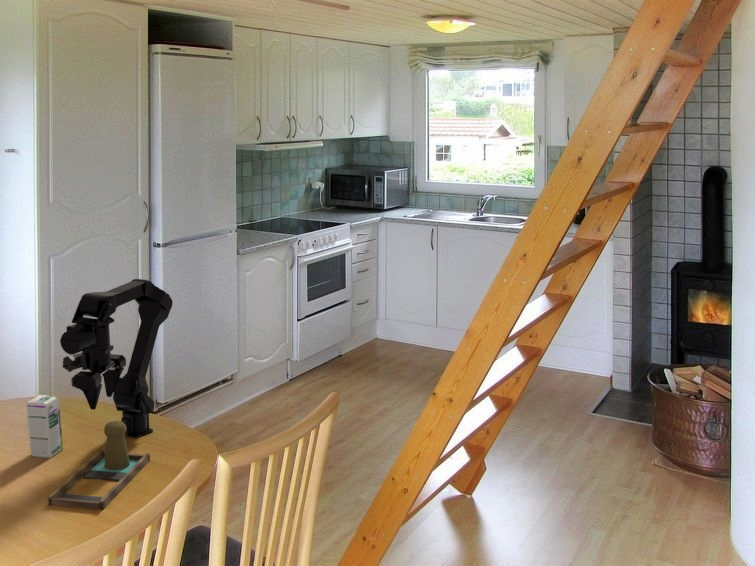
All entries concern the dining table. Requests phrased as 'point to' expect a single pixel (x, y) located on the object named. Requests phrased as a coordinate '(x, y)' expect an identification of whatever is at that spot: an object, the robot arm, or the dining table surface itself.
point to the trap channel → (85, 471)
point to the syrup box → (44, 426)
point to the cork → (116, 446)
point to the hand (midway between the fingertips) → (101, 402)
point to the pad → (100, 467)
